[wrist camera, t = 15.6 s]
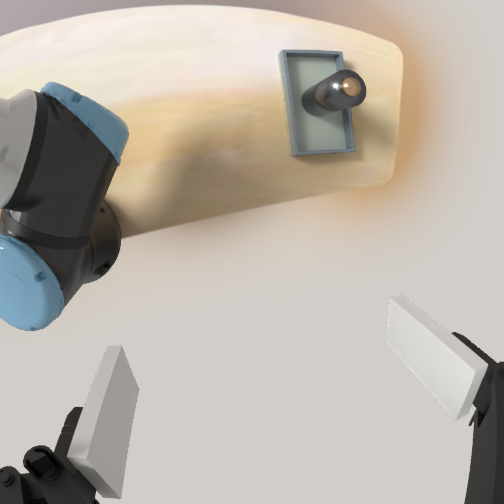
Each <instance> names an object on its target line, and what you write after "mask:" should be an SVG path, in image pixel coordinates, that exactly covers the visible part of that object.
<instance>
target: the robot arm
mask: <svg viewBox="0 0 504 504" xmlns="http://www.w3.org/2000/svg"><path fill="white" fill-rule="evenodd" d="M128 137H129V132H128V127H127V125H126V123H125V122H124V121H123V120H122V119H121V118H120V117H118V116H117V115H116V114H114V113H113V112H111V111H110V110H108V109H107V108H105V107H103V106H102V105H100V104H98V103H97V102H95V101H93V100H91V99H90V98H88V97H86V96H83V95H80V94H79V93H77V92H75V91H74V90H72V89H70V88H68V87H66V86H63V85H61V84H58V83H55V82H48V83H47V84H46V85H45V86H44V87H43V88H42V89H41V91H40V93H39V92H36V91H33V90H29V89H26V90H24V91H22V92H20V93H19V94H17V95H15V96H14V97H12V98H10V99H3V98H0V208H1V209H2V213H1V217H0V318H2V319H3V320H4V321H5V322H7V323H8V324H10V325H12V326H14V327H16V328H18V329H21V330H25V331H36V330H39V329H43V328H45V327H47V326H48V325H49V324H50V323H51V322H52V321H53V320H55V319H56V318H58V317H59V315H60V314H61V312H62V310H63V309H64V307H65V306H66V305H67V303H68V302H69V301H70V299H71V298H72V297H73V296H74V295H75V293H76V292H77V291H78V290H79V288H80V287H81V286H82V285H83V284H86V283H90V282H93V281H95V280H97V279H99V278H101V277H102V276H103V275H105V274H106V273H107V272H108V270H109V269H110V268H111V267H112V265H113V264H114V262H115V261H116V259H117V257H118V254H119V251H120V246H121V232H120V227H119V223H118V221H117V218H116V216H115V214H114V212H113V211H112V209H111V208H110V207H109V206H108V204H107V203H106V202H105V201H104V198H105V196H106V193H107V190H108V188H109V185H110V183H111V180H112V178H113V176H114V173H115V171H116V169H117V167H118V166H119V165H120V161H121V159H120V158H121V155H122V153H123V150H124V148H125V145H126V143H127V140H128ZM385 343H387V345H388V346H389V347H390V348H391V349H392V350H393V351H394V352H395V353H396V355H397V356H399V358H400V359H401V360H402V361H403V362H404V363H405V365H406V366H407V367H408V368H409V369H410V370H411V371H412V372H413V373H414V375H415V376H416V377H417V378H418V379H419V380H420V381H421V382H422V384H423V385H424V386H425V387H426V388H427V389H428V390H429V392H430V393H431V394H432V395H433V396H434V397H435V398H436V400H437V401H438V402H439V403H440V404H441V405H442V406H443V408H444V409H445V410H446V411H447V412H448V413H449V415H450V416H451V417H452V418H453V419H454V420H455V421H457V420H458V419H460V418H462V417H463V416H465V415H467V414H468V413H469V410H470V408H471V406H472V404H473V405H474V406H475V407H476V410H475V413H474V415H473V417H472V419H471V421H470V423H469V426H471V425H472V423H473V421H474V433H473V446H472V456H471V465H470V473H469V480H468V486H467V492H466V497H465V503H464V504H504V362H499V363H496V362H495V361H494V360H493V359H492V358H490V357H489V356H488V355H487V354H486V353H484V352H483V351H482V350H481V349H480V348H477V346H476V345H475V344H473V343H471V341H470V340H468V339H467V338H466V337H465V336H463V335H461V334H458V333H456V332H453V333H450V332H449V331H448V330H446V329H445V328H444V327H443V326H442V325H440V324H439V323H438V322H437V321H435V320H434V319H433V318H432V317H430V316H429V315H428V314H427V313H425V312H424V311H423V310H421V309H420V308H419V307H417V306H416V305H415V304H414V303H412V302H411V301H410V300H409V299H407V298H406V297H404V296H403V295H398V296H394V297H390V302H389V312H388V322H387V331H386V339H385ZM138 392H139V387H138V385H137V383H136V380H135V378H134V376H133V373H132V371H131V368H130V366H129V363H128V361H127V358H126V355H125V353H124V350H123V348H122V345H120V346H109V347H107V348H106V351H105V353H104V356H103V358H102V360H101V363H100V365H99V368H98V370H97V373H96V375H95V378H94V380H93V383H92V386H91V388H90V391H89V394H88V397H87V399H86V402H85V404H84V407H74V408H73V410H72V411H71V412H70V413H69V414H68V415H67V418H66V420H65V423H64V427H63V428H62V431H61V434H60V436H59V439H58V442H57V445H56V447H55V450H54V453H53V452H52V450H51V449H50V448H49V447H46V446H41V445H39V446H35V447H33V448H31V449H30V450H29V451H27V453H26V454H25V456H24V459H23V464H24V467H25V468H26V469H27V470H28V471H29V472H30V473H26V474H20V473H19V472H18V471H17V470H16V469H15V468H14V467H11V466H6V467H3V468H1V469H0V504H100V503H99V502H98V501H97V500H96V499H95V494H96V491H98V493H99V494H100V495H101V496H102V497H105V498H118V499H121V496H122V487H123V480H124V473H125V466H126V459H127V452H128V446H129V441H130V434H131V429H132V423H133V418H134V412H135V407H136V402H137V397H138Z"/></svg>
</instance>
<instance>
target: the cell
mask: <svg viewBox="0 0 504 504" xmlns="http://www.w3.org/2000/svg"><path fill="white" fill-rule="evenodd" d="M365 96H366V86H365V83H364V81H363V80H362V78H361V77H360V76H359V75H358V74H357V73H355V72H353V71H351V70H340V71H338V72H336V73H334V74H332V75H331V76H329V77H327V78H325V79H324V80H322V81H320V82H319V83H317V84H315V85H313V86H312V87H310V88H308V89H307V90H306V91H305V92H304V93H303V95H302V99H301V101H302V106H303V108H304V109H305V111H306V112H307V113H309V114H310V115H312V116H323V115H326V114H330V113H333V112H337V111H340V110H344V109H347V108H351V107H354V106H357V105H359V104H361V103H362V102H363V101H364V99H365Z"/></svg>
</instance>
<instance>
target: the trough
mask: <svg viewBox="0 0 504 504" xmlns="http://www.w3.org/2000/svg"><path fill="white" fill-rule="evenodd" d="M278 61H279V68H280V75H281V82H282V90H283V97H284V105H285V114H286V122H287V131H288V140H289V149H290V155H307V154H320V153H337V152H355V146H354V135H353V126H352V117H351V108H347V109H344V110H340V111H337V112H333V113H330V114H326V115H323V116H312V115H310V114H309V113H307V112H306V111H305V109H304V108H303V106H302V101H301V99H302V95H303V93H304V92H305V91H306V90H307V89H308V88H310V87H312V86H313V85H315V84H317V83H319V82H320V81H322V80H324V79H325V78H327V77H329V76H331V75H332V74H334V73H336V72H338V71H340V70H345V66H344V60H343V54H342V52H338V51H321V50H282V51H281V52H280V53H279V54H278Z"/></svg>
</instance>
